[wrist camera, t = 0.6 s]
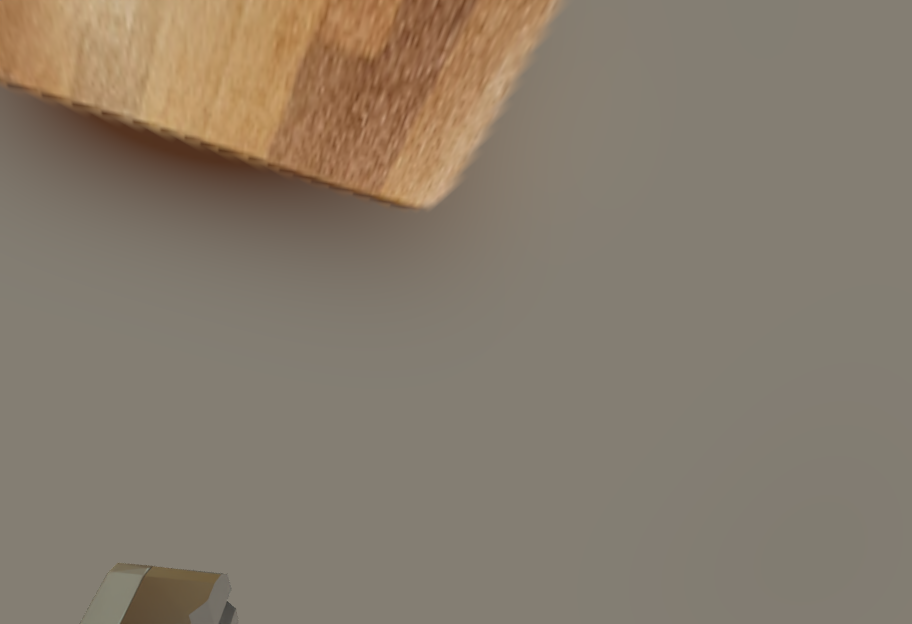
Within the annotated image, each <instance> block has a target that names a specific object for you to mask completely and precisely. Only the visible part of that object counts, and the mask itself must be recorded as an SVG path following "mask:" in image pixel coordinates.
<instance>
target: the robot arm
mask: <svg viewBox="0 0 912 624" xmlns="http://www.w3.org/2000/svg"><path fill="white" fill-rule="evenodd" d="M230 591H231V585H230V582H229V578H228V575H227V574H223V573H213V572H203V571H194V570H184V569H174V568H164V567H156V566H149V565H148V566H147V565H136V564H126V563H125V564H124V563H117V564H116V565H115V566H114V567H113V568H112V569H111V570H110V571H109V572H108V573H107V575H106V576H105V578H104V580H103V582H102V584H101V586H100V587H99V589H98V591H97V593H96V595H95V596H94V598H93V600H92V602H91V604H90V605H89V607H88V609H87V611H86V613H85V615H84V616H83V618H82V620H81V622H80V624H238V616H237V612H236V608H235V607H233V606H232V605H231V604H230V603H229V602H228V601H227V599H228V597H229V594H230Z"/></svg>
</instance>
